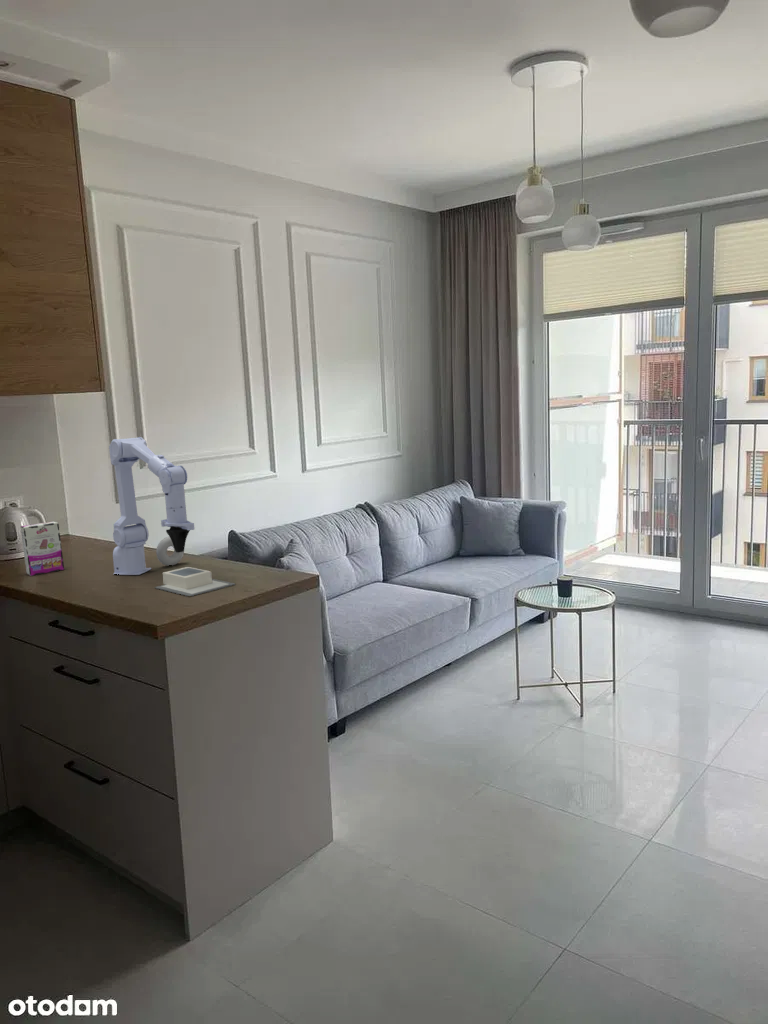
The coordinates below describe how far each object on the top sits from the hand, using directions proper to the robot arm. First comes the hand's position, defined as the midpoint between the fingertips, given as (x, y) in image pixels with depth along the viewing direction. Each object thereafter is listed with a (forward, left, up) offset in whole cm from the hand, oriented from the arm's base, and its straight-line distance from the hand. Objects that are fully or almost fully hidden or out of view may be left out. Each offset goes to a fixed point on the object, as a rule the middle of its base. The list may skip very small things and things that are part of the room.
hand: (179, 551), depth 229 cm
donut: (-16, +24, -10) cm, 30 cm away
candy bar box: (-57, +14, -10) cm, 59 cm away
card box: (-3, +2, -8) cm, 8 cm away
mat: (+6, -3, -10) cm, 12 cm away
